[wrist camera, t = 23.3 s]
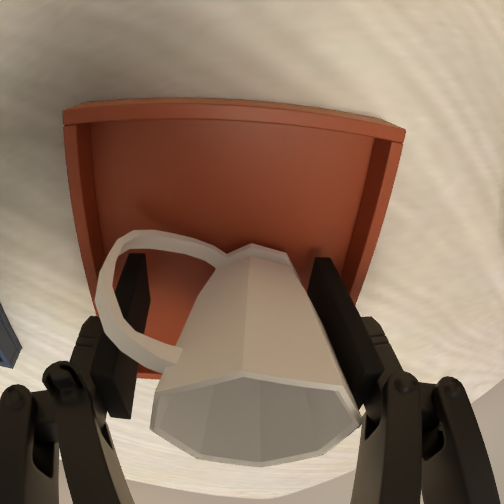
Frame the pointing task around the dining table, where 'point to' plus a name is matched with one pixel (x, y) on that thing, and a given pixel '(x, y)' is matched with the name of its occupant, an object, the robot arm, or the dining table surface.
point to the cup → (239, 359)
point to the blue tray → (7, 343)
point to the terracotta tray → (226, 189)
